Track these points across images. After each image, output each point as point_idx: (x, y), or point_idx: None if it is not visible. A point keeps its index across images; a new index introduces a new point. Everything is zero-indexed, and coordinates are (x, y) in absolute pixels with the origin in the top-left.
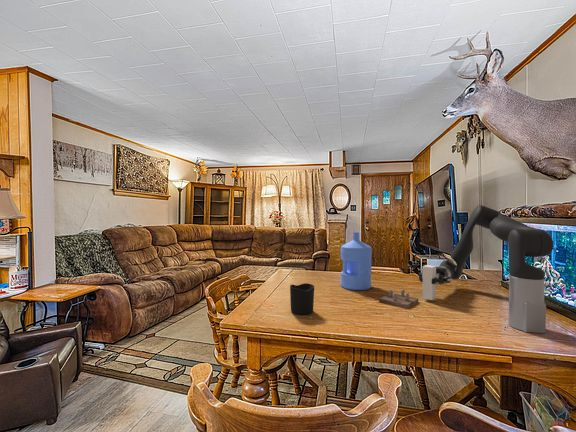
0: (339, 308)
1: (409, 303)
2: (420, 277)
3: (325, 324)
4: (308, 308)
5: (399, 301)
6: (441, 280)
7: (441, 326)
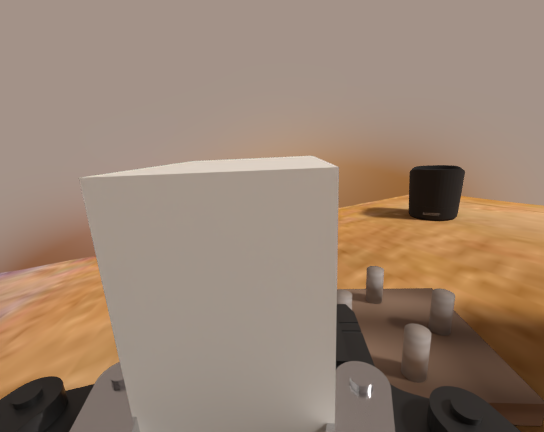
0: (419, 237)
1: None
2: (354, 320)
3: (357, 213)
4: (409, 203)
5: (352, 301)
6: (65, 407)
7: None
